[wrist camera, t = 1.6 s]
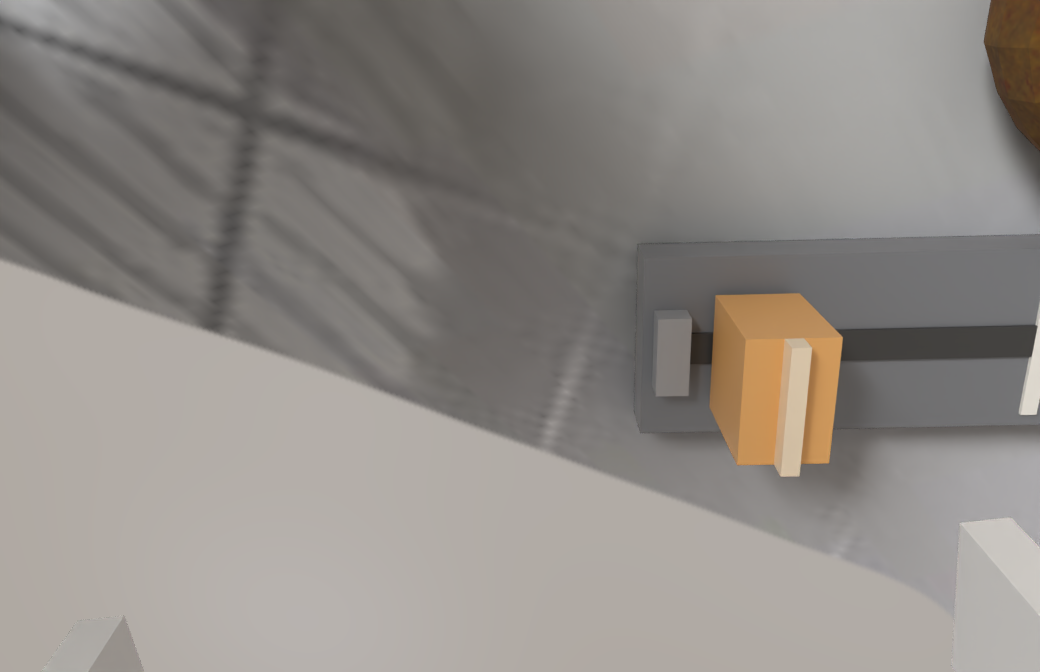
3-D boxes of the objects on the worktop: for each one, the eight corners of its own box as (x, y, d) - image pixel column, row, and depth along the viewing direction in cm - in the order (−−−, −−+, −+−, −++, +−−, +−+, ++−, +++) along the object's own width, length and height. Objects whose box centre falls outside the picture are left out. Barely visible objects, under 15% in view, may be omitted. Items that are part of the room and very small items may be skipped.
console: (634, 410, 36) (643, 445, 33) (637, 243, 33) (648, 265, 30) (1127, 400, 35) (1179, 433, 33) (1167, 231, 33) (1228, 252, 30)
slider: (709, 406, 33) (743, 477, 28) (715, 295, 31) (752, 348, 26) (789, 404, 33) (837, 475, 28) (799, 293, 31) (852, 346, 26)
